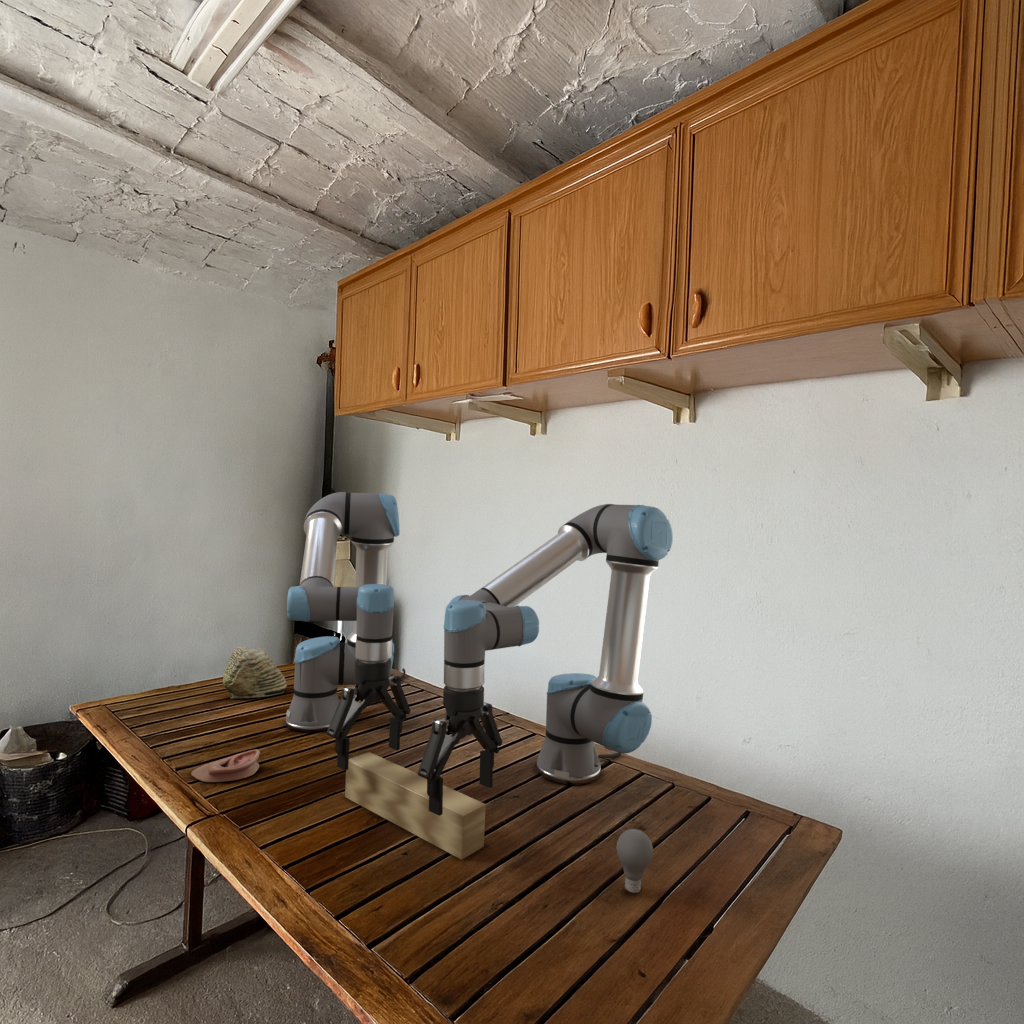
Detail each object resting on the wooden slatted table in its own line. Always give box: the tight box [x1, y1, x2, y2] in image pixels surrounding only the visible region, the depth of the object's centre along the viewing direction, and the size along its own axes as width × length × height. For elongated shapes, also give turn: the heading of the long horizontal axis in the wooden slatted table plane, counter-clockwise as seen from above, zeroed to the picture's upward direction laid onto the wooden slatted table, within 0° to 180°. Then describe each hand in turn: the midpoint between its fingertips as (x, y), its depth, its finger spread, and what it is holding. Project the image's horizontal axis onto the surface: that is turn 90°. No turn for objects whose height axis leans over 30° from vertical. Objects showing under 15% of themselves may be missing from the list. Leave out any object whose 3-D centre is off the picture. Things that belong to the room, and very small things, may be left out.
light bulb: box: [615, 828, 654, 894], centre depth 106 cm, size 6×6×10 cm
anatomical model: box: [190, 748, 261, 783], centre depth 143 cm, size 13×4×12 cm
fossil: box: [222, 646, 288, 699], centre depth 198 cm, size 9×18×15 cm, turn 132°
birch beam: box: [344, 751, 487, 861], centre depth 126 cm, size 34×6×8 cm, turn 51°
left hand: (369, 757), depth 134 cm, fingers open, 13 cm apart
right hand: (461, 798), depth 118 cm, fingers open, 13 cm apart
